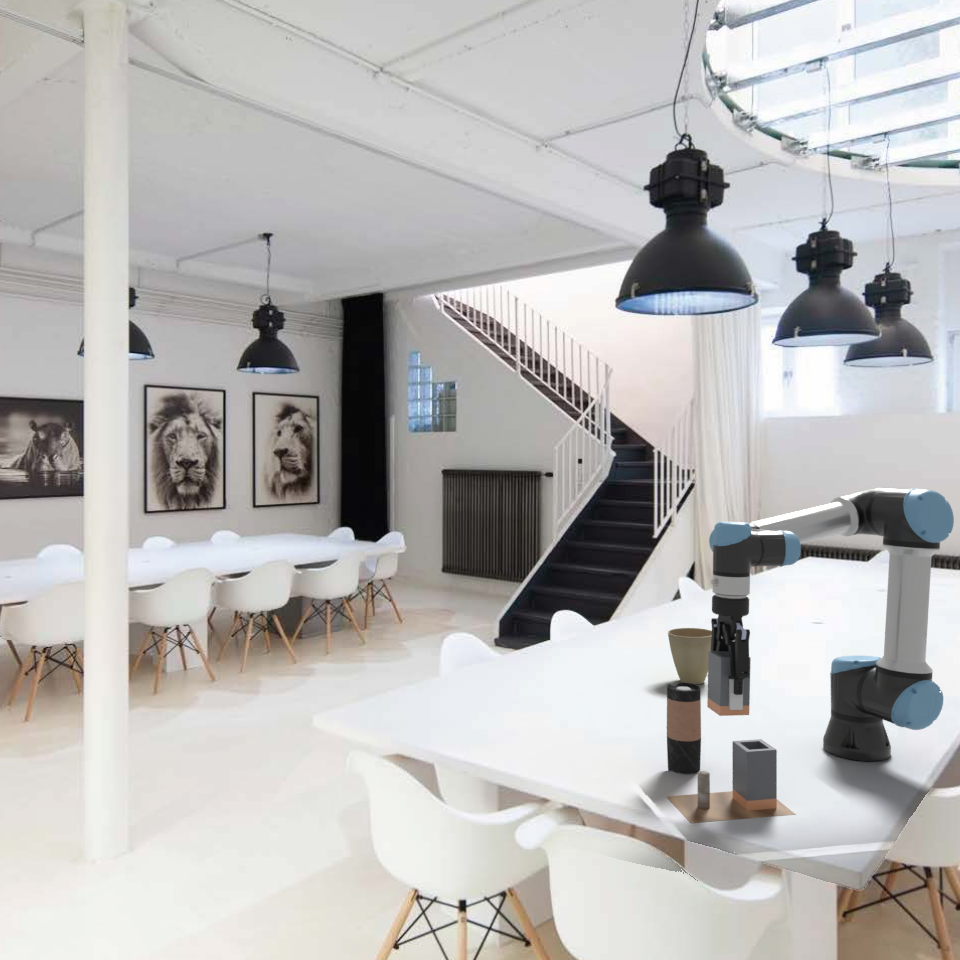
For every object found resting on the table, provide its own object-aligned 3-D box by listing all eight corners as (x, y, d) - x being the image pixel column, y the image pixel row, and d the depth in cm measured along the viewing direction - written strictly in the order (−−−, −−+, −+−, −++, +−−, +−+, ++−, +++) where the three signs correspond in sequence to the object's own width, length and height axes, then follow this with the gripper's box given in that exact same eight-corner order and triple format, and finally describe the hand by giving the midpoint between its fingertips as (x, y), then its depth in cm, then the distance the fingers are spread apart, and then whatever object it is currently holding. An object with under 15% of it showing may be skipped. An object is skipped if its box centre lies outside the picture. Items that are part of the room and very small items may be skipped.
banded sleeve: (735, 706, 181) (736, 650, 181) (749, 715, 175) (750, 657, 175) (707, 706, 181) (708, 651, 180) (719, 715, 174) (721, 658, 174)
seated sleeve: (761, 795, 177) (761, 739, 177) (776, 808, 171) (776, 749, 170) (732, 798, 176) (732, 741, 176) (747, 810, 170) (746, 751, 169)
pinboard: (763, 794, 181) (763, 756, 180) (795, 820, 168) (795, 779, 168) (666, 802, 177) (665, 763, 177) (691, 829, 164) (690, 787, 164)
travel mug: (698, 781, 188) (698, 692, 188) (664, 777, 191) (664, 689, 190) (703, 769, 195) (702, 683, 195) (669, 765, 198) (669, 680, 198)
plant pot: (711, 675, 277) (711, 627, 277) (719, 688, 262) (719, 637, 262) (665, 675, 279) (665, 627, 278) (671, 687, 264) (670, 636, 263)
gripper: (695, 588, 186) (693, 692, 187) (733, 603, 167) (731, 718, 168) (727, 588, 187) (725, 691, 188) (769, 602, 168) (766, 717, 169)
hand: (728, 704), depth 178 cm, fingers closed on banded sleeve, 6 cm apart
